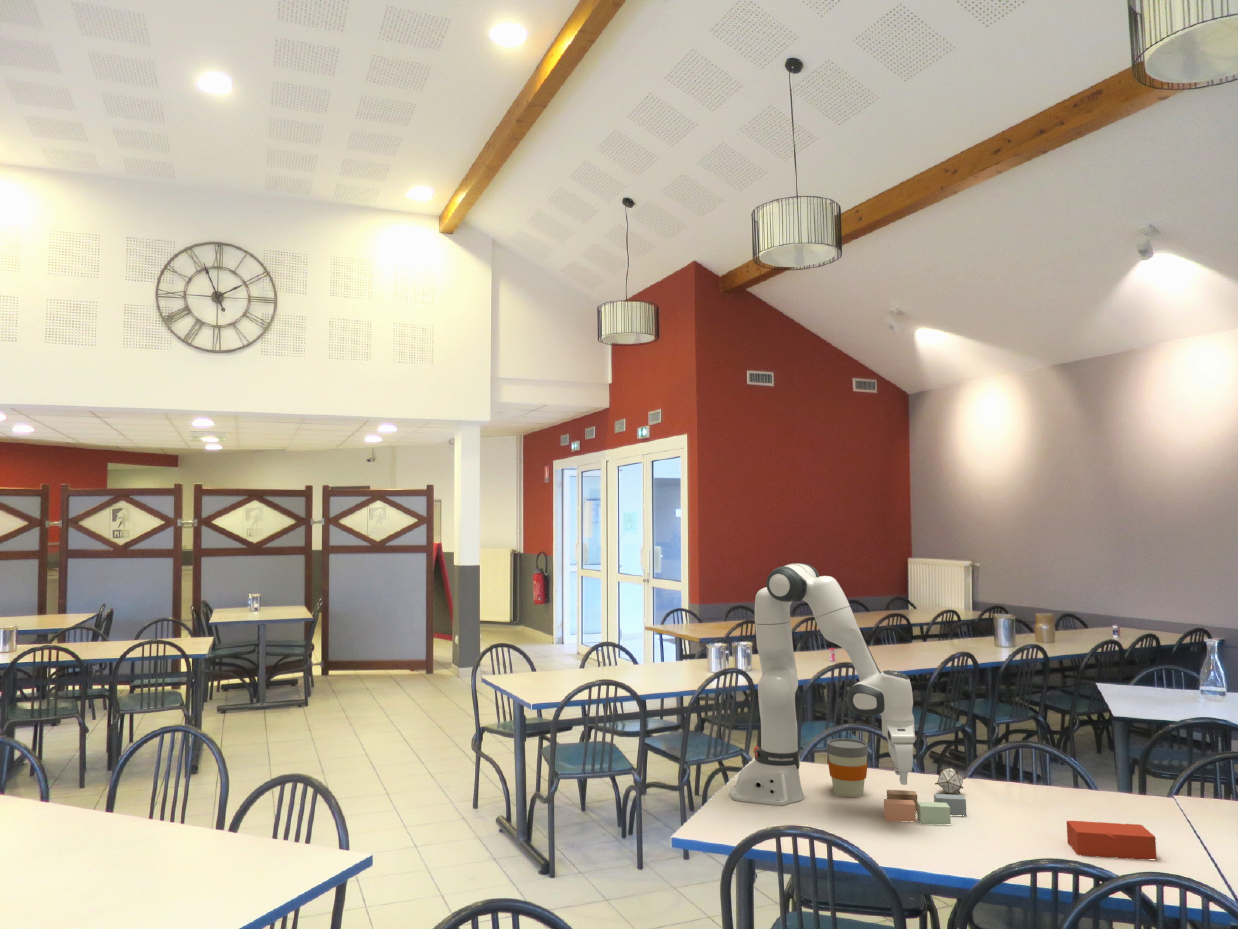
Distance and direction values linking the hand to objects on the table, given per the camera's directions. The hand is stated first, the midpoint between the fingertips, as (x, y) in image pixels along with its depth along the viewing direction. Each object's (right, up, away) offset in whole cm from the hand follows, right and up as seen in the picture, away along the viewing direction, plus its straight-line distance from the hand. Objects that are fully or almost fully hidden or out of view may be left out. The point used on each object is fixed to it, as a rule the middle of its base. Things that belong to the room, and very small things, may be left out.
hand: (900, 779), depth 243 cm
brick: (+45, -10, -25) cm, 53 cm away
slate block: (+15, -12, +4) cm, 20 cm away
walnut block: (+3, -12, +8) cm, 15 cm away
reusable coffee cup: (-9, -13, +24) cm, 29 cm away
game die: (+23, -13, +22) cm, 34 cm away
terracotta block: (0, -11, 0) cm, 11 cm away
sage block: (+8, -11, -3) cm, 14 cm away
